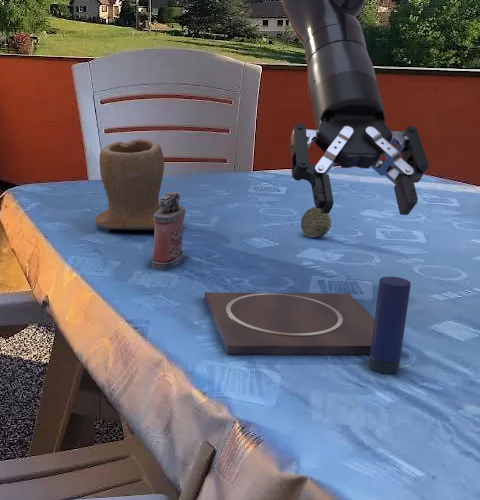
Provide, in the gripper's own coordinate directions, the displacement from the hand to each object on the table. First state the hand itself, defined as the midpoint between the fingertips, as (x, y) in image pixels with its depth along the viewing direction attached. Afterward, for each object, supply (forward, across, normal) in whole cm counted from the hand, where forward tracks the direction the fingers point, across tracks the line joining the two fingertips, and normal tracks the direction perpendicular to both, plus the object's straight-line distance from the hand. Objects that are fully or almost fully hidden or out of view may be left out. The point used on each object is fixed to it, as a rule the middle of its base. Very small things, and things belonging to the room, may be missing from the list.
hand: (367, 210), depth 74 cm
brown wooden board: (+8, -6, +11) cm, 15 cm away
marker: (+16, 0, +4) cm, 16 cm away
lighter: (-9, -18, +28) cm, 35 cm away
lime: (-19, +8, +39) cm, 44 cm away
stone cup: (-21, -21, +41) cm, 51 cm away
